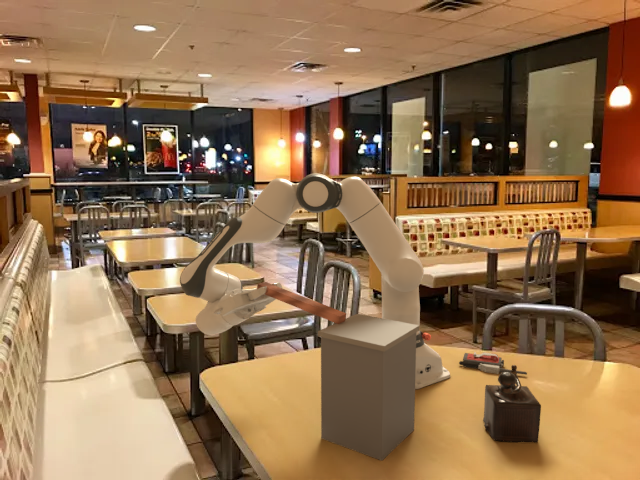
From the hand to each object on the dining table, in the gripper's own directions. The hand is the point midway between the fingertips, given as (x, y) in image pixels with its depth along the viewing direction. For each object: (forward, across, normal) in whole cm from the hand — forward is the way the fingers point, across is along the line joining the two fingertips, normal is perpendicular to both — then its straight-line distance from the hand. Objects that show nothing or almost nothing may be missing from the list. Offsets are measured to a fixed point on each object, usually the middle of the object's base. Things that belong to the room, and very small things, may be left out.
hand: (271, 287), depth 136 cm
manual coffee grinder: (+34, +18, +56) cm, 68 cm away
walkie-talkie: (+20, +57, +48) cm, 77 cm away
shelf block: (+10, 0, +42) cm, 43 cm away
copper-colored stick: (+6, 0, +7) cm, 10 cm away
